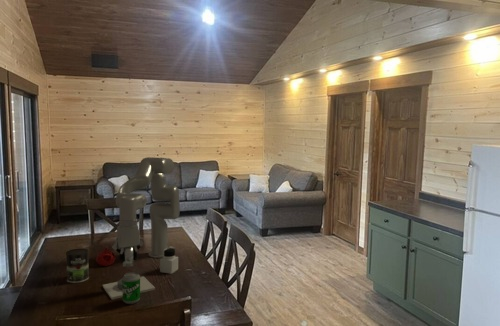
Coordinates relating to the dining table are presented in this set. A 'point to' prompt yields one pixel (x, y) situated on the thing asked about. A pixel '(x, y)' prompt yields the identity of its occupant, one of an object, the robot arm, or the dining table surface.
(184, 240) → the dining table surface
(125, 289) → the soda can
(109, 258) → the pomegranate
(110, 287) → the ring board
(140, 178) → the robot arm
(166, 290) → the dining table surface
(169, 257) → the medicine bottle
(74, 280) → the coffee can
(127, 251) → the piston
